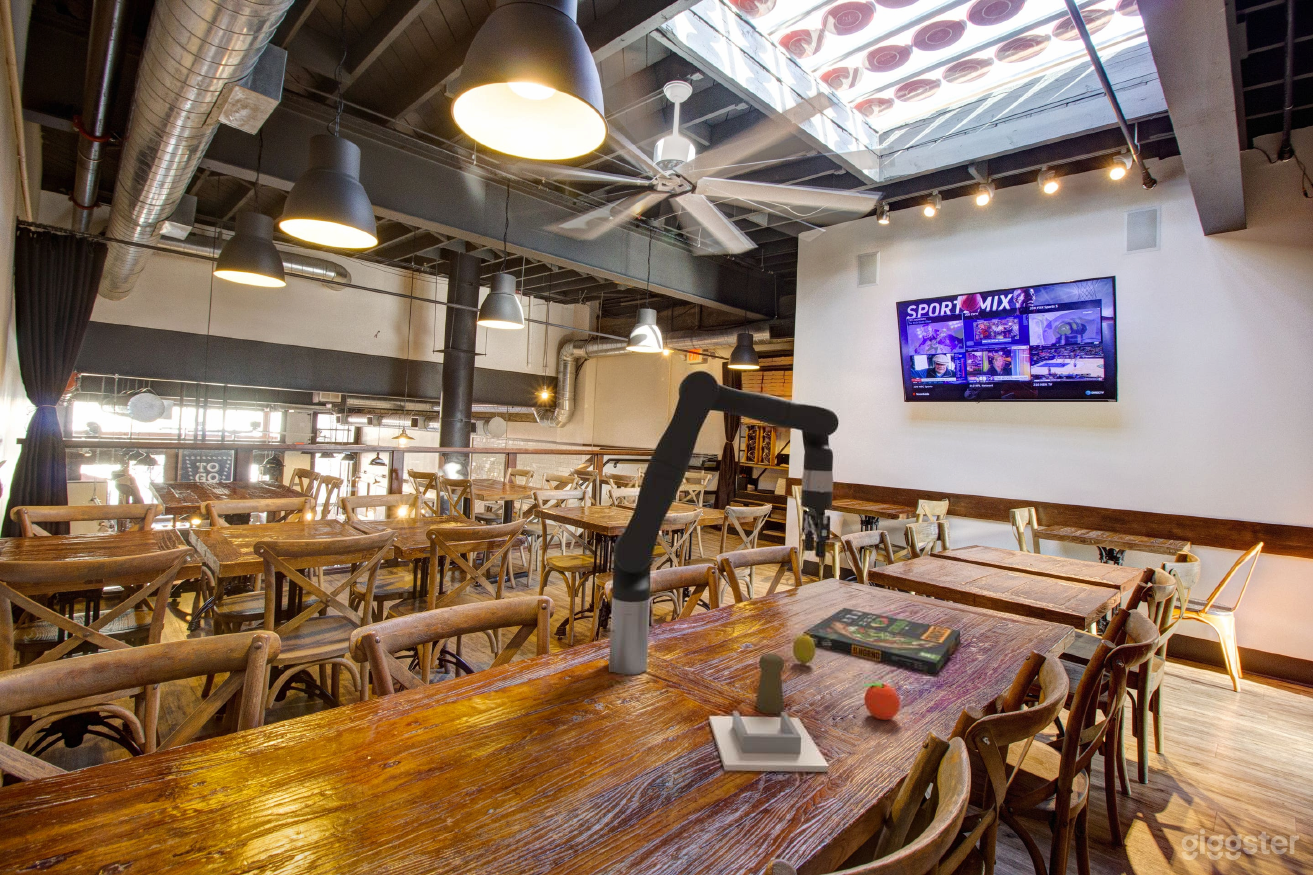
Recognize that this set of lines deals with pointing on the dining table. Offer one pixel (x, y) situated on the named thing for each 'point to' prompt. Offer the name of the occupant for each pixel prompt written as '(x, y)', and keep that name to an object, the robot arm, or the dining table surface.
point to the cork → (770, 684)
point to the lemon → (804, 649)
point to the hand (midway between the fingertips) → (814, 553)
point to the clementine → (881, 701)
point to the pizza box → (886, 639)
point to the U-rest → (765, 744)
